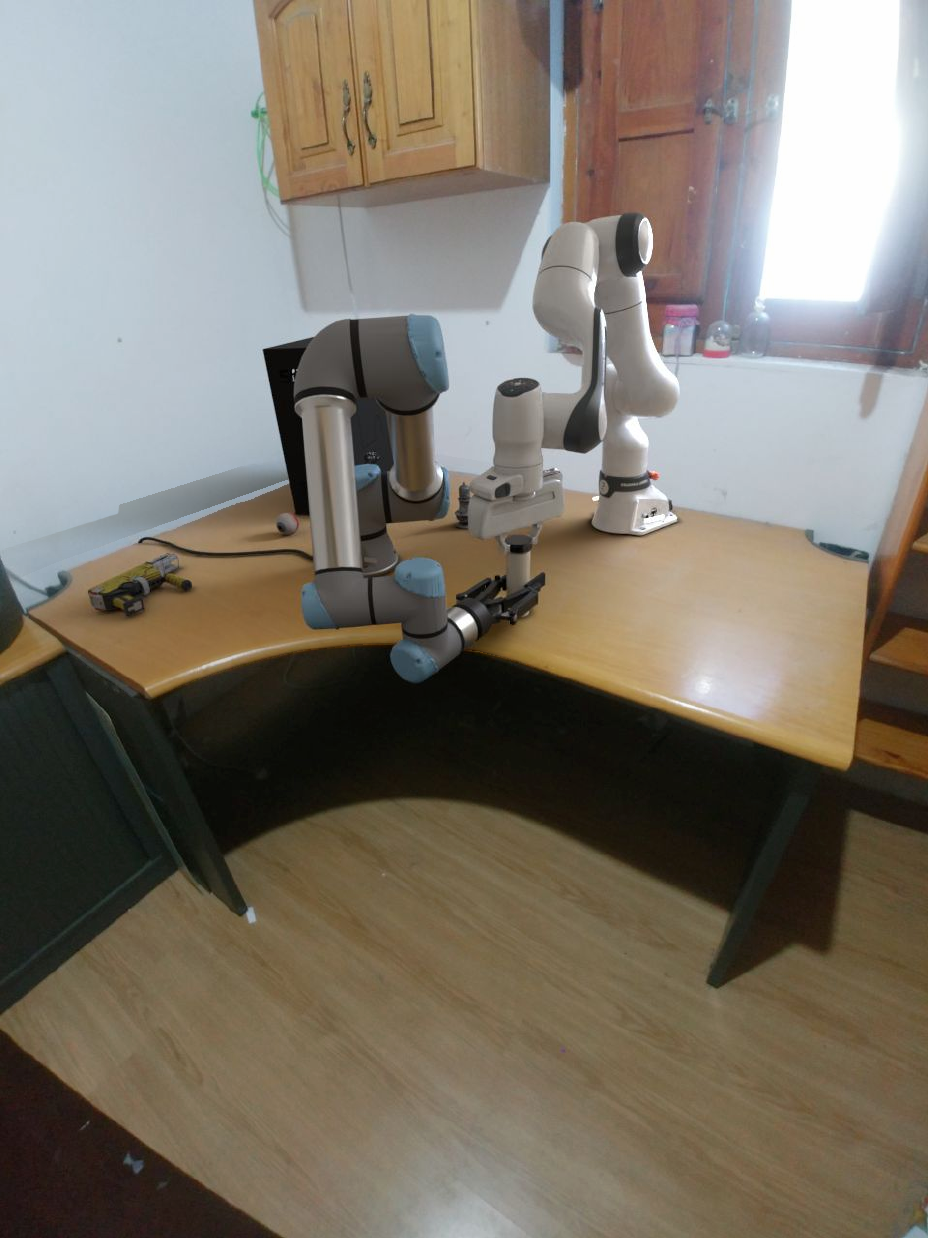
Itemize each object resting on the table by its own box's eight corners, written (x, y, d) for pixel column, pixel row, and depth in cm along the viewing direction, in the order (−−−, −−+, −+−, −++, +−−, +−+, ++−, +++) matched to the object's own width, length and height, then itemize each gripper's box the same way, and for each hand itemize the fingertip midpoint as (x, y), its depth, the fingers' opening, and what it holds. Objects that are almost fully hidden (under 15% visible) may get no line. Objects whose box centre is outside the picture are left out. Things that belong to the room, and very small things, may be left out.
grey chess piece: (474, 529, 161) (472, 485, 155) (453, 528, 162) (450, 485, 156) (478, 521, 166) (476, 478, 160) (457, 520, 167) (455, 478, 161)
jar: (532, 609, 122) (534, 540, 114) (522, 619, 119) (523, 549, 111) (512, 604, 124) (513, 536, 117) (502, 614, 121) (502, 544, 113)
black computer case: (359, 516, 174) (334, 346, 152) (295, 513, 179) (262, 349, 156) (400, 477, 206) (384, 331, 183) (345, 476, 210) (323, 334, 188)
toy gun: (216, 561, 144) (165, 550, 148) (137, 604, 124) (81, 590, 128) (219, 578, 146) (168, 567, 150) (142, 623, 126) (86, 609, 130)
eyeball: (273, 537, 164) (268, 516, 161) (287, 528, 169) (282, 508, 166) (291, 539, 161) (286, 518, 158) (305, 530, 166) (301, 510, 163)
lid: (519, 539, 118) (520, 531, 117) (538, 548, 114) (538, 540, 113) (498, 546, 115) (498, 538, 114) (516, 555, 111) (516, 547, 110)
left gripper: (426, 629, 113) (496, 581, 129) (504, 657, 103) (570, 602, 119) (423, 594, 109) (495, 549, 125) (504, 620, 100) (571, 568, 115)
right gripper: (550, 462, 115) (549, 530, 122) (461, 484, 105) (465, 557, 112) (573, 469, 110) (570, 539, 117) (482, 493, 101) (484, 568, 107)
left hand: (532, 575), depth 122 cm, fingers closed on jar, 5 cm apart
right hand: (518, 548), depth 114 cm, fingers closed on lid, 5 cm apart
